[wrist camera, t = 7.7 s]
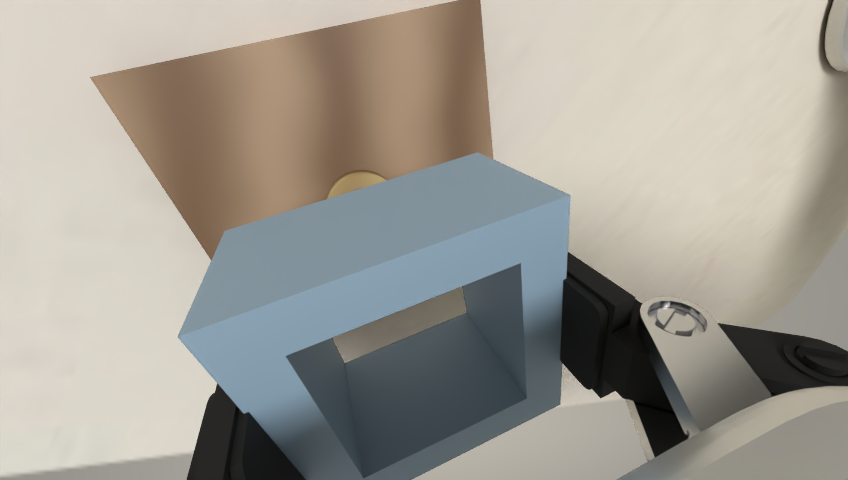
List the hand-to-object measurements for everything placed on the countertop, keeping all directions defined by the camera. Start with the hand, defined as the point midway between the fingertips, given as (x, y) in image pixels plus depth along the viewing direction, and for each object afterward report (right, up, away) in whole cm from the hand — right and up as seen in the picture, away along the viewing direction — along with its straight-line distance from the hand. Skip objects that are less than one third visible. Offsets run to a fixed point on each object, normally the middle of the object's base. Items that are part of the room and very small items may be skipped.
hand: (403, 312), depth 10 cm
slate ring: (0, +1, +1) cm, 1 cm away
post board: (-3, +5, +9) cm, 11 cm away
